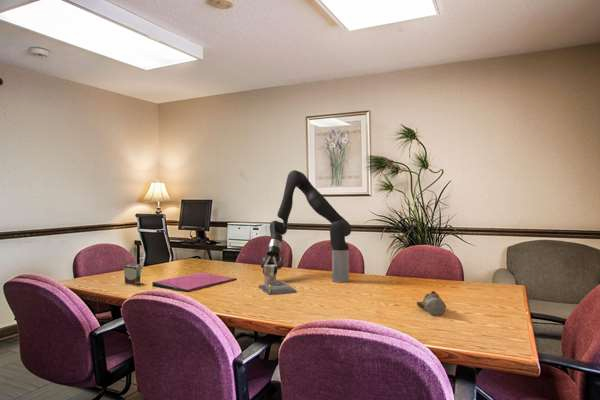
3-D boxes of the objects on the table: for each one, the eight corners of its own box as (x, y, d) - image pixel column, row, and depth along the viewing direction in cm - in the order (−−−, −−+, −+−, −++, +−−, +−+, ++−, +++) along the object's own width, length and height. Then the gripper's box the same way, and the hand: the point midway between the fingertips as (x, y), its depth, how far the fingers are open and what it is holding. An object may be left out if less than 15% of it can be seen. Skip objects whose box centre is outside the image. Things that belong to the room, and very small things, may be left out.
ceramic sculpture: (423, 293, 152) (415, 287, 167) (423, 317, 151) (415, 309, 166) (452, 294, 151) (441, 288, 166) (452, 317, 150) (441, 309, 165)
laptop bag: (202, 269, 241) (236, 274, 227) (202, 276, 241) (236, 282, 227) (145, 280, 207) (181, 287, 193) (145, 288, 207) (181, 295, 193)
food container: (147, 283, 217) (147, 265, 218) (137, 285, 212) (137, 266, 212) (133, 281, 224) (133, 263, 224) (123, 283, 219) (123, 264, 219)
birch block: (276, 280, 224) (276, 264, 224) (273, 283, 217) (273, 266, 217) (267, 280, 224) (267, 264, 224) (264, 282, 217) (264, 266, 217)
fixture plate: (284, 285, 211) (284, 277, 211) (296, 292, 194) (296, 284, 194) (258, 287, 206) (258, 279, 206) (268, 294, 190) (268, 286, 190)
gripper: (260, 245, 229) (255, 269, 217) (285, 245, 227) (281, 270, 215) (263, 253, 234) (258, 277, 222) (287, 253, 232) (283, 278, 220)
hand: (269, 273), depth 219 cm, fingers closed on birch block, 5 cm apart
